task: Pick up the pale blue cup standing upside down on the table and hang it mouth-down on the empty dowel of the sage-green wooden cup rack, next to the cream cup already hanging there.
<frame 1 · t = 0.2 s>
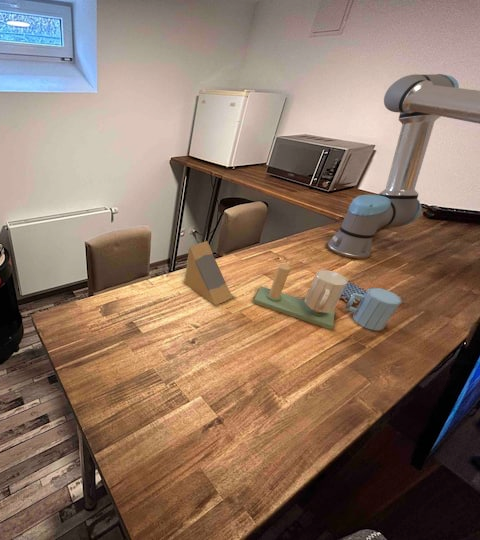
blue cup: (367, 321, 88), on the table
sandwich container: (207, 290, 102), on the table
cream cup: (318, 304, 88), point 4 cm above the table, touching cup rack
cup rack: (292, 307, 93), on the table
woven mat: (345, 293, 100), on the table
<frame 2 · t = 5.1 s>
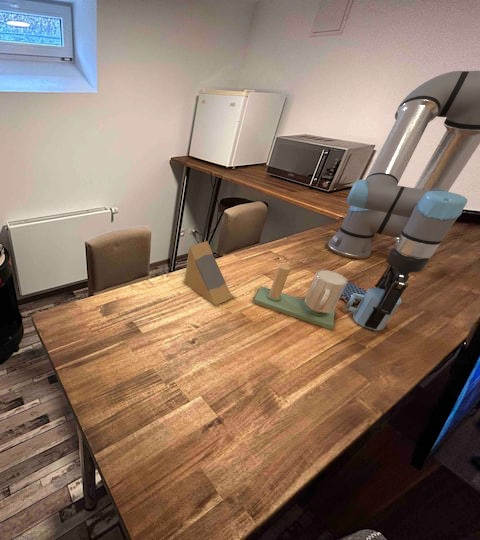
hand: (369, 318, 87), 1 cm above the table, tool pointing down, fingers closed on blue cup, 8 cm apart
blue cup: (367, 321, 88), on the table, touching gripper
everything else where it was.
when the fingers open (5 cm above the table, at t = 13.1 s): blue cup stays where it is, resting on cup rack.
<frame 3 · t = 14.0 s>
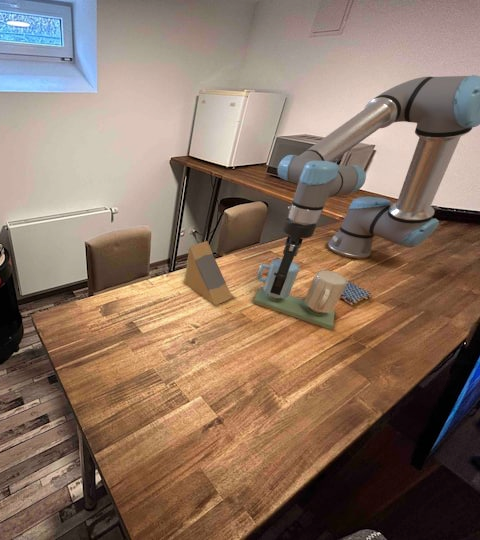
hand: (279, 282, 92), 8 cm above the table, tool pointing down, fingers open, 13 cm apart
blue cup: (276, 290, 94), point 4 cm above the table, touching cup rack
everything else where it was.
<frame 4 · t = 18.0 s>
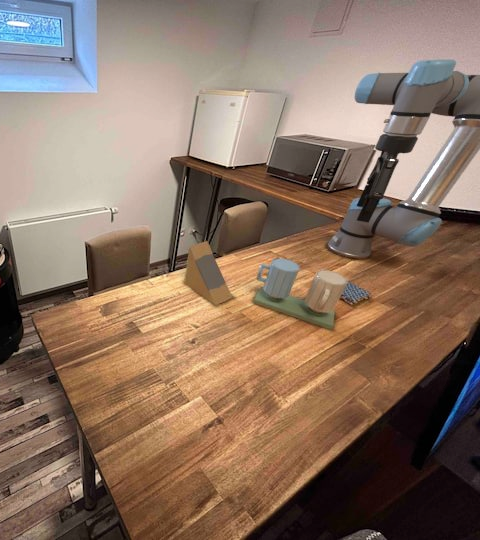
hand: (362, 213, 85), 29 cm above the table, tool pointing down, fingers open, 13 cm apart
nothing on the table moved.
at the end: blue cup 0.0 cm from the target spot on the cup rack, point 4.3 cm above the cup rack's base; blue cup tilted 0°; blue cup touching cup rack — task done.
